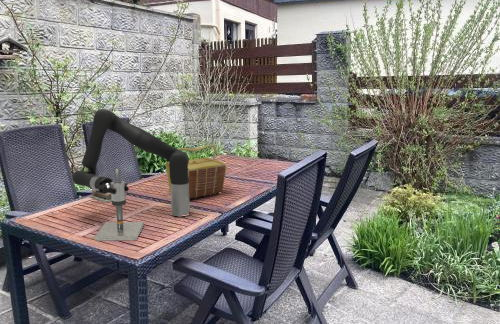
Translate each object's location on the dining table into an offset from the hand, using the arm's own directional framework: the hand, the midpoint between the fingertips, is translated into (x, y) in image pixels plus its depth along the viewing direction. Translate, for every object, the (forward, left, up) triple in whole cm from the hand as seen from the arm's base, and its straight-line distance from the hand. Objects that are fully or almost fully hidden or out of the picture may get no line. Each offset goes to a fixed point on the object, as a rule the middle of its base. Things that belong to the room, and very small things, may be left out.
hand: (121, 190), depth 187 cm
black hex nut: (+2, -2, -7) cm, 7 cm away
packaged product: (+24, -59, -21) cm, 67 cm away
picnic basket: (-29, -65, -21) cm, 74 cm away
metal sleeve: (+2, -2, -5) cm, 5 cm away
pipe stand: (+2, -2, -21) cm, 21 cm away
